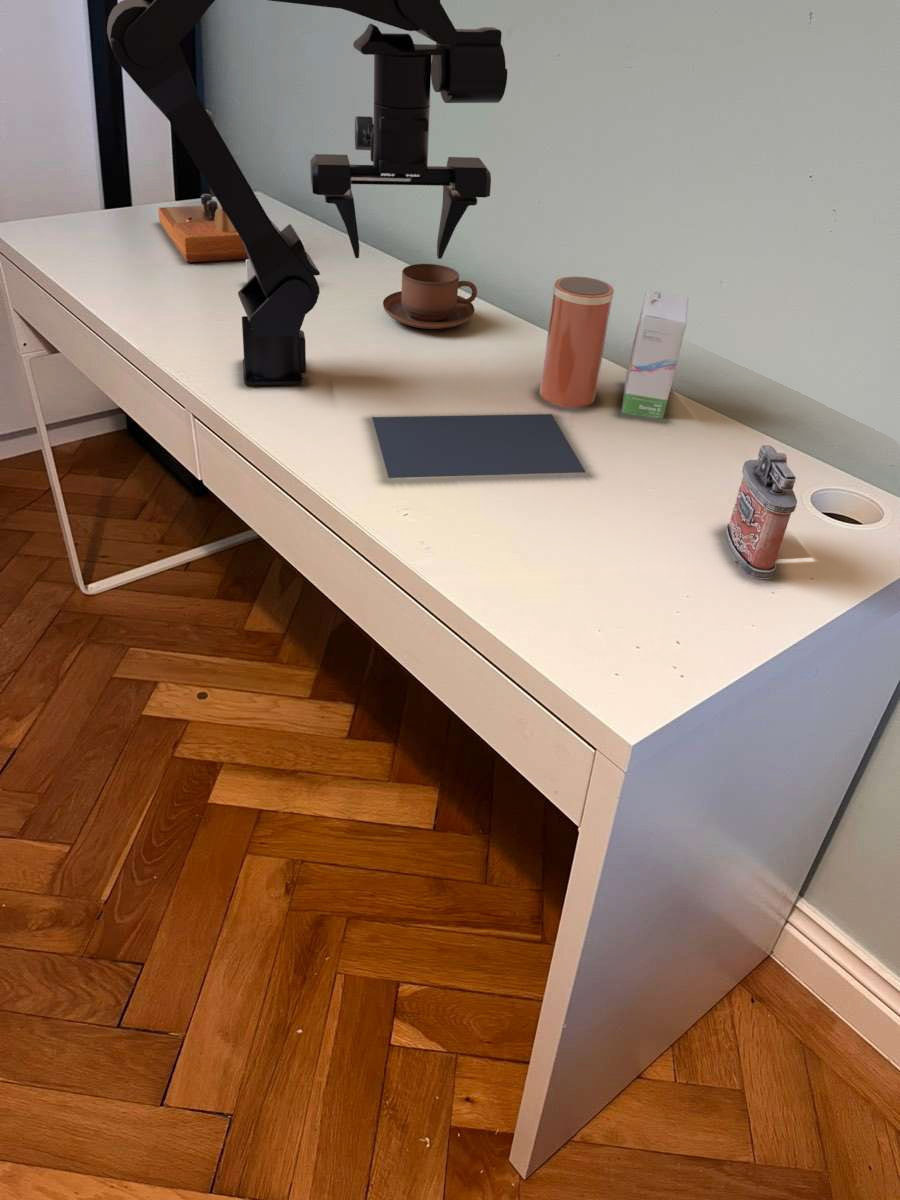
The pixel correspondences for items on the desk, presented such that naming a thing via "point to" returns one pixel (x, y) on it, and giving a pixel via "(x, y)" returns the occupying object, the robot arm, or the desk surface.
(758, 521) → the lighter
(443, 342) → the desk surface
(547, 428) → the felt mat
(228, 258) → the wooden scientific apparatus
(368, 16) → the robot arm
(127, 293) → the desk surface
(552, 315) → the pen pot
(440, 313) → the cup and saucer
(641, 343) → the ink box
